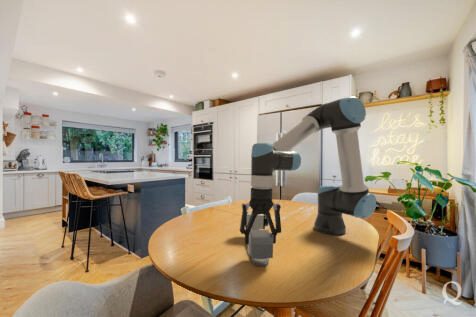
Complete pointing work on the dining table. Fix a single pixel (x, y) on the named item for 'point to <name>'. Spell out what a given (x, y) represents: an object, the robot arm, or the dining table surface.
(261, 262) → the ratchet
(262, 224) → the pneumatic valve
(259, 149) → the robot arm
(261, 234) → the gray cube
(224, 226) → the dining table surface
